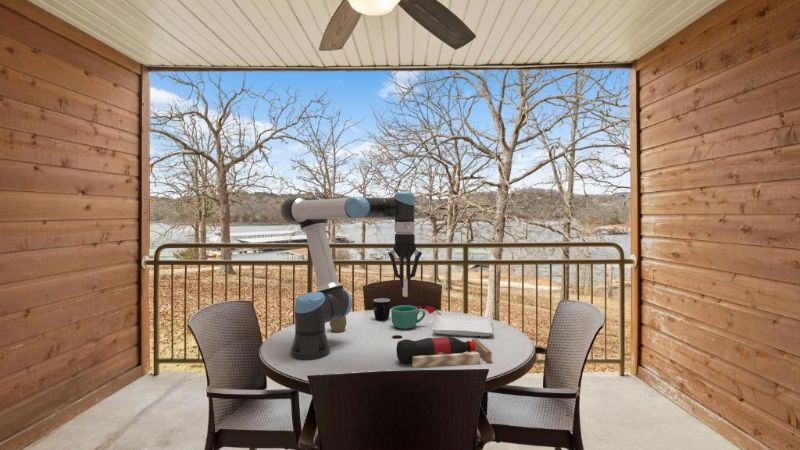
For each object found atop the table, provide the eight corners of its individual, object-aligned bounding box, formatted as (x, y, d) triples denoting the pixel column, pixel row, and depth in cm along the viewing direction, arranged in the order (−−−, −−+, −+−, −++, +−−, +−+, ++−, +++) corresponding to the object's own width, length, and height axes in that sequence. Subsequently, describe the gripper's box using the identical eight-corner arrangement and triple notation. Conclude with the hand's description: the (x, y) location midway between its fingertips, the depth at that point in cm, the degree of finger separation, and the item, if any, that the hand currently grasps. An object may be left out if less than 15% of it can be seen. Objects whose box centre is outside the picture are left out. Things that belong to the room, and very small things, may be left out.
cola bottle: (399, 368, 147) (476, 362, 153) (400, 350, 144) (479, 344, 150) (395, 353, 155) (468, 347, 161) (396, 335, 152) (471, 330, 158)
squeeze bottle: (348, 332, 190) (348, 293, 189) (331, 333, 187) (331, 295, 186) (344, 327, 197) (344, 290, 197) (328, 329, 194) (327, 292, 194)
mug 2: (391, 331, 191) (390, 311, 191) (392, 323, 204) (391, 305, 203) (426, 331, 191) (425, 311, 191) (424, 323, 203) (424, 305, 203)
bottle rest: (413, 367, 145) (413, 356, 145) (405, 352, 161) (405, 342, 160) (491, 362, 149) (491, 351, 149) (476, 348, 165) (476, 338, 165)
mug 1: (372, 317, 216) (372, 298, 216) (388, 316, 218) (388, 298, 218) (375, 323, 205) (375, 303, 204) (393, 322, 206) (393, 302, 206)
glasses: (435, 313, 226) (435, 304, 226) (443, 321, 210) (442, 311, 210) (410, 314, 224) (410, 305, 224) (416, 322, 208) (416, 312, 208)
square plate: (431, 337, 182) (431, 328, 182) (437, 321, 209) (436, 314, 209) (493, 340, 177) (493, 331, 177) (490, 323, 204) (490, 316, 204)
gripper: (388, 234, 147) (389, 298, 147) (423, 233, 149) (424, 297, 149) (386, 233, 154) (386, 294, 155) (419, 232, 156) (419, 293, 157)
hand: (405, 295), depth 152 cm, fingers closed
